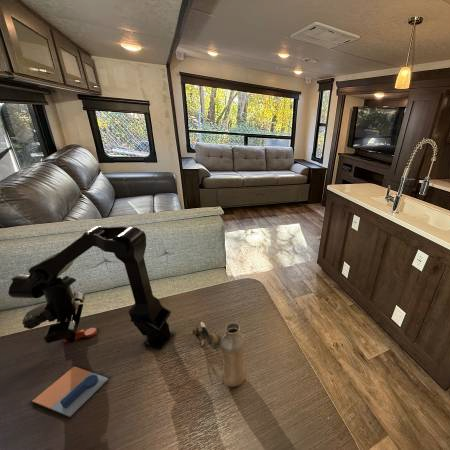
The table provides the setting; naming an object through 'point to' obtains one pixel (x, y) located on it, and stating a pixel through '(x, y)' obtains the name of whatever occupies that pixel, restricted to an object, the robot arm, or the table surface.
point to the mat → (68, 391)
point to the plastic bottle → (233, 355)
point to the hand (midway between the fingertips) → (73, 335)
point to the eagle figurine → (206, 335)
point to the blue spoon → (79, 390)
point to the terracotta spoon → (84, 333)
